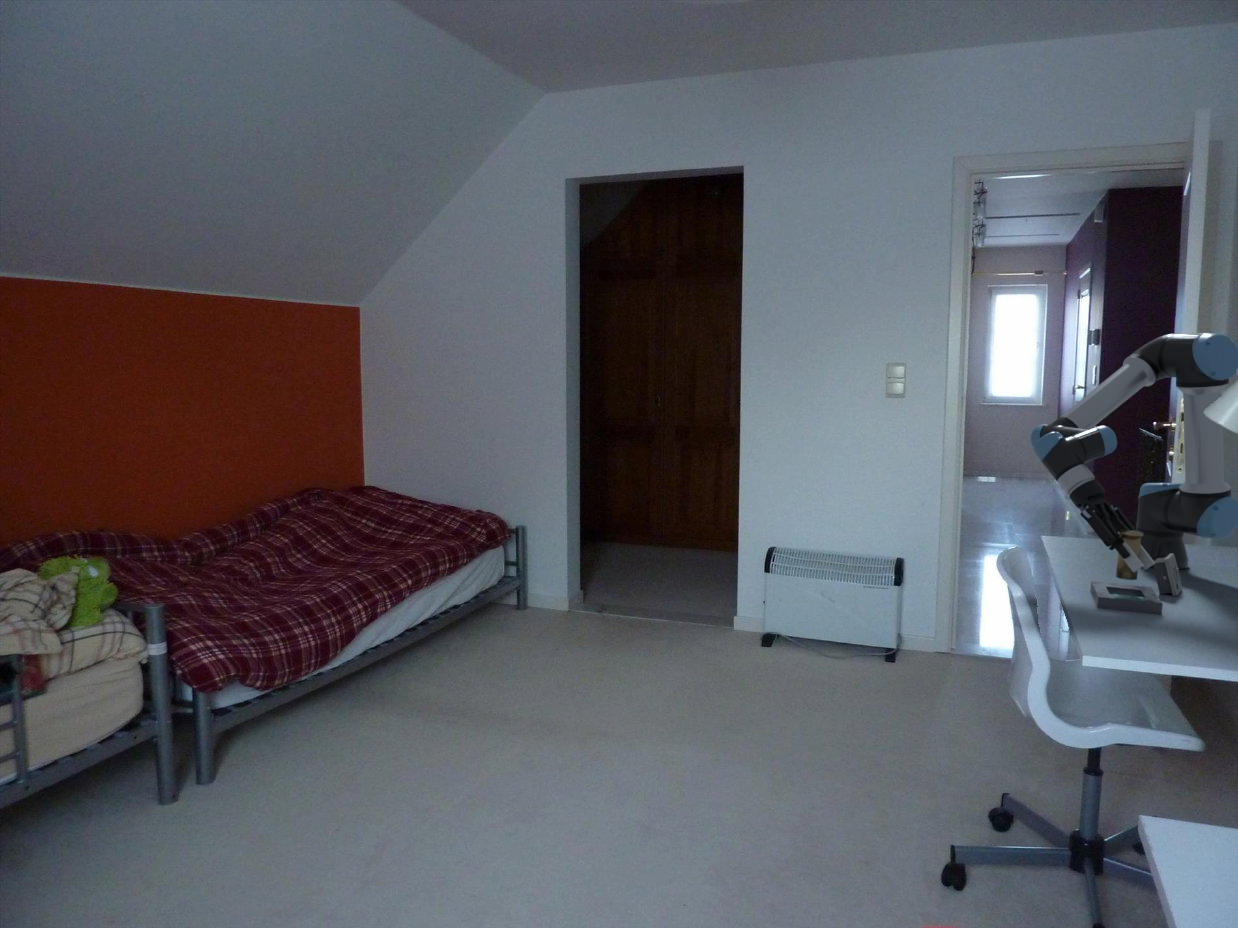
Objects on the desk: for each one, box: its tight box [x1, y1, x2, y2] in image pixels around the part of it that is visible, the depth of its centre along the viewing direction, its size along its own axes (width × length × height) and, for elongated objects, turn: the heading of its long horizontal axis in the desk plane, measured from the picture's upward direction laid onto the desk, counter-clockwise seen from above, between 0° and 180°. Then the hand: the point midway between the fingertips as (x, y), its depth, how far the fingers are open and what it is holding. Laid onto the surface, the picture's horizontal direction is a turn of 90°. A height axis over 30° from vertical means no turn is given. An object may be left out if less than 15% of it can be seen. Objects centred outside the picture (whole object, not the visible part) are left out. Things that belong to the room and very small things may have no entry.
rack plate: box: [1089, 580, 1164, 616], centre depth 217 cm, size 16×13×3 cm
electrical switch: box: [1152, 553, 1183, 597], centre depth 228 cm, size 9×5×9 cm, turn 141°
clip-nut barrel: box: [1115, 530, 1143, 581], centre depth 216 cm, size 5×5×11 cm
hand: (1144, 567), depth 213 cm, fingers closed on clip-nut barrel, 4 cm apart
